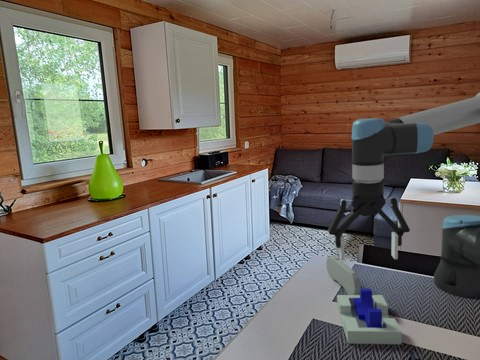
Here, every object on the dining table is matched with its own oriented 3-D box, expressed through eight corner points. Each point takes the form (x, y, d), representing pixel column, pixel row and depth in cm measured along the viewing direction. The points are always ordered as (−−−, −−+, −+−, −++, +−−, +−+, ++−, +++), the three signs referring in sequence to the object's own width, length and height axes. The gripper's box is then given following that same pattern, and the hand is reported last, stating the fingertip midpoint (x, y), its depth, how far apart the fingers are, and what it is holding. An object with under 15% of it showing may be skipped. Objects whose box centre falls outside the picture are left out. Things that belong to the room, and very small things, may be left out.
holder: (382, 305, 105) (382, 295, 105) (401, 344, 88) (401, 331, 88) (337, 305, 107) (337, 295, 106) (347, 343, 90) (347, 331, 89)
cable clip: (354, 307, 104) (354, 288, 102) (370, 307, 103) (370, 288, 102) (363, 332, 92) (363, 312, 91) (381, 333, 91) (381, 312, 90)
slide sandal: (361, 300, 109) (361, 275, 108) (354, 301, 109) (354, 276, 107) (332, 273, 128) (331, 251, 126) (326, 274, 128) (325, 252, 126)
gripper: (413, 174, 93) (411, 250, 97) (316, 179, 96) (318, 253, 100) (425, 180, 85) (422, 262, 90) (319, 185, 88) (322, 264, 92)
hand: (367, 257), depth 95 cm, fingers open, 13 cm apart
